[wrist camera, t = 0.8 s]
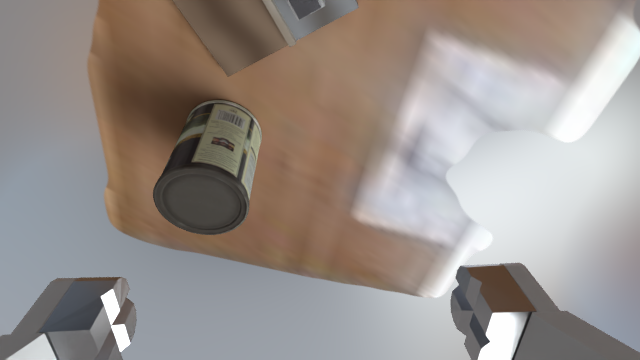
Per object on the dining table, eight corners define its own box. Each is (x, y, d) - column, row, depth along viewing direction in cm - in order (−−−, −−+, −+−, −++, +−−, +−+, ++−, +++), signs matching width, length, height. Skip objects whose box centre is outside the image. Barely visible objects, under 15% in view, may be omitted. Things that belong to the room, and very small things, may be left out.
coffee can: (194, 162, 57) (165, 235, 46) (178, 98, 51) (140, 167, 40) (265, 162, 57) (253, 236, 47) (259, 99, 51) (242, 168, 40)
